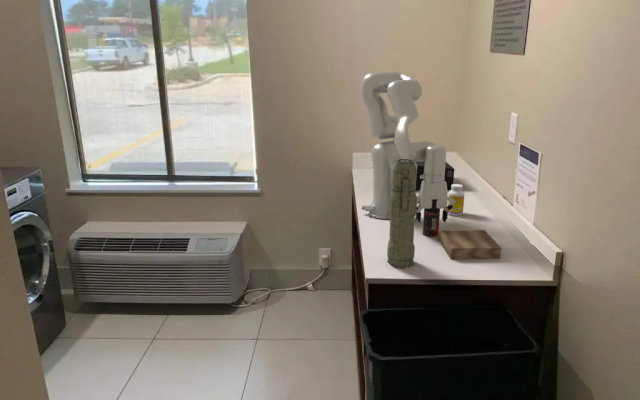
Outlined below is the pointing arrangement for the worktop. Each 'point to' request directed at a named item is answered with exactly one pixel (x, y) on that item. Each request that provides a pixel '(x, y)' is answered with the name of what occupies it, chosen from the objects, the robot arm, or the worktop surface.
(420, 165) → the headphone box
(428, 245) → the worktop surface
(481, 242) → the walnut stand
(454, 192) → the supplement bottle
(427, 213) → the deodorant
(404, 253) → the thermos
